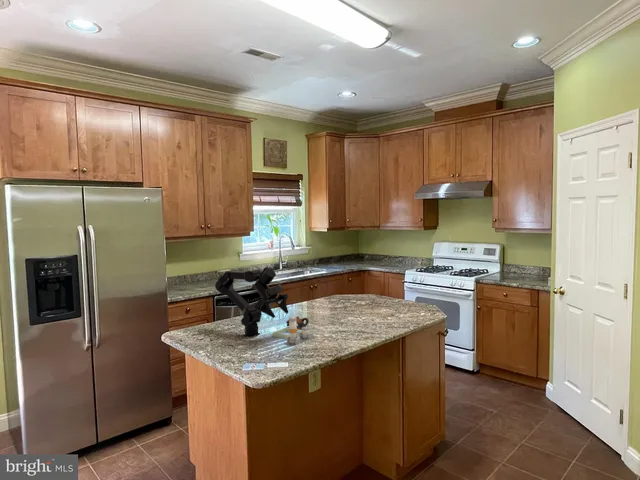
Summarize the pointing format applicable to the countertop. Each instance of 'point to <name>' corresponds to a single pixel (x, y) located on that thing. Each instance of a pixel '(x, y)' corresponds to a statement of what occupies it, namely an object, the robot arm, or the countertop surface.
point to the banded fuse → (292, 329)
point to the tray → (278, 333)
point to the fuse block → (299, 339)
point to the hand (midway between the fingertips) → (281, 315)
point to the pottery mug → (300, 322)
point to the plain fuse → (305, 332)
